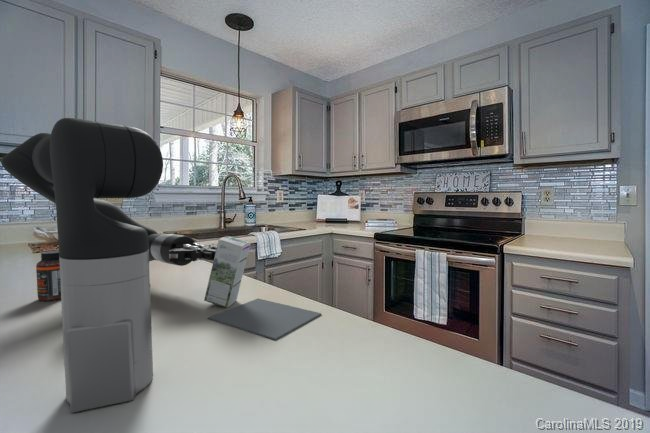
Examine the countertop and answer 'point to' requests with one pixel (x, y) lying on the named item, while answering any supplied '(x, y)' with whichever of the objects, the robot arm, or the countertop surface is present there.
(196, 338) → the countertop surface
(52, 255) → the supplement bottle
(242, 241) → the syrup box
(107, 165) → the robot arm
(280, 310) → the mat
